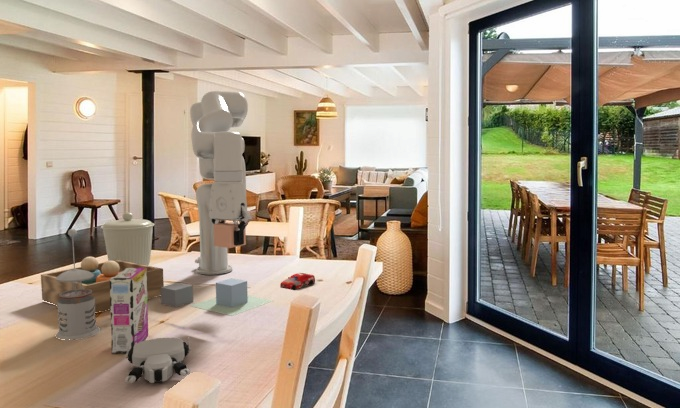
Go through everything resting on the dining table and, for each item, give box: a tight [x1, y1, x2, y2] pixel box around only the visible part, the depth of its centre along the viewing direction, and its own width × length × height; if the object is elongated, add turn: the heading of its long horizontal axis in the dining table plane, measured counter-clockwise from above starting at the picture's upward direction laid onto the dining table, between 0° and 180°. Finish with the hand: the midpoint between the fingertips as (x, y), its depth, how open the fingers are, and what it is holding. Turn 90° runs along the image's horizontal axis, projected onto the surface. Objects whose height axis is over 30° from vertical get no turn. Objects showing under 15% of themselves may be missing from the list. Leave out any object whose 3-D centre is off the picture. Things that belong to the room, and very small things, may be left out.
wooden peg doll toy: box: [79, 256, 120, 285], centre depth 152 cm, size 18×17×12 cm
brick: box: [213, 221, 247, 249], centre depth 141 cm, size 6×6×6 cm
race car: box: [280, 272, 316, 291], centre depth 165 cm, size 13×5×4 cm, turn 139°
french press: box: [55, 228, 101, 341], centre depth 122 cm, size 10×12×25 cm
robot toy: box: [124, 336, 191, 384], centre depth 101 cm, size 12×4×15 cm
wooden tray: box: [40, 260, 165, 313], centre depth 151 cm, size 23×24×8 cm
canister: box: [100, 211, 156, 266], centre depth 188 cm, size 18×18×21 cm
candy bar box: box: [109, 268, 149, 354], centre depth 114 cm, size 11×5×16 cm, turn 5°
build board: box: [189, 295, 273, 317], centre depth 142 cm, size 16×16×1 cm
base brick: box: [215, 278, 249, 308], centre depth 142 cm, size 6×6×6 cm
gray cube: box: [160, 282, 194, 308], centre depth 143 cm, size 6×6×6 cm
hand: (230, 243), depth 141 cm, fingers closed on brick, 6 cm apart
